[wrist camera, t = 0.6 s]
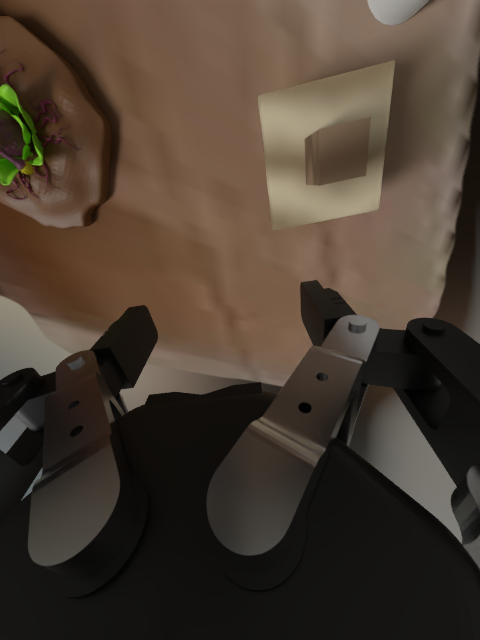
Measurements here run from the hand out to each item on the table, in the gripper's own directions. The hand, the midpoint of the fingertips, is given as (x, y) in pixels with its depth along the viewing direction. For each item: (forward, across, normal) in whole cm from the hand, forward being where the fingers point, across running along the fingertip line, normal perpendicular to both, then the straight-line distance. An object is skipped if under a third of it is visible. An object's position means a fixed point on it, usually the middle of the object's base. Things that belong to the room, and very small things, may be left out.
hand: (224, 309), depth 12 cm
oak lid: (+19, -11, -6) cm, 23 cm away
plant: (+27, +24, -14) cm, 39 cm away
